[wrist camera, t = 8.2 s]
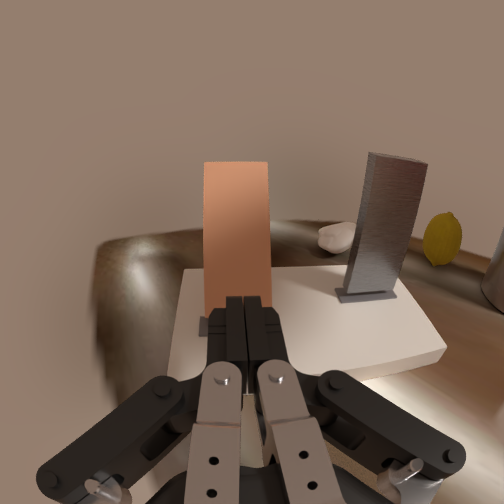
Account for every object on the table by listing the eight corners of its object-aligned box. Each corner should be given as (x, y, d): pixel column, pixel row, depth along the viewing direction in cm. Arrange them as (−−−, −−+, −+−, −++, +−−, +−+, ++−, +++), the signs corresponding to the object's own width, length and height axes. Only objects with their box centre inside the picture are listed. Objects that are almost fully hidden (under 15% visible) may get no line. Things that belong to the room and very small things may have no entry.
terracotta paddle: (269, 314, 22) (265, 167, 23) (272, 316, 21) (267, 162, 22) (206, 315, 22) (205, 167, 23) (205, 318, 20) (204, 162, 22)
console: (382, 278, 31) (387, 262, 30) (437, 361, 20) (448, 345, 18) (186, 285, 29) (184, 267, 28) (171, 394, 18) (165, 378, 16)
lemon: (455, 271, 32) (474, 219, 28) (437, 281, 30) (458, 224, 26) (429, 252, 36) (444, 202, 32) (408, 259, 34) (424, 205, 30)
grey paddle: (387, 282, 25) (419, 160, 19) (393, 289, 24) (427, 164, 18) (342, 285, 25) (368, 151, 19) (346, 293, 24) (376, 155, 18)
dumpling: (361, 264, 33) (368, 235, 31) (321, 264, 33) (327, 234, 31) (345, 237, 39) (350, 212, 37) (310, 236, 39) (314, 210, 37)
